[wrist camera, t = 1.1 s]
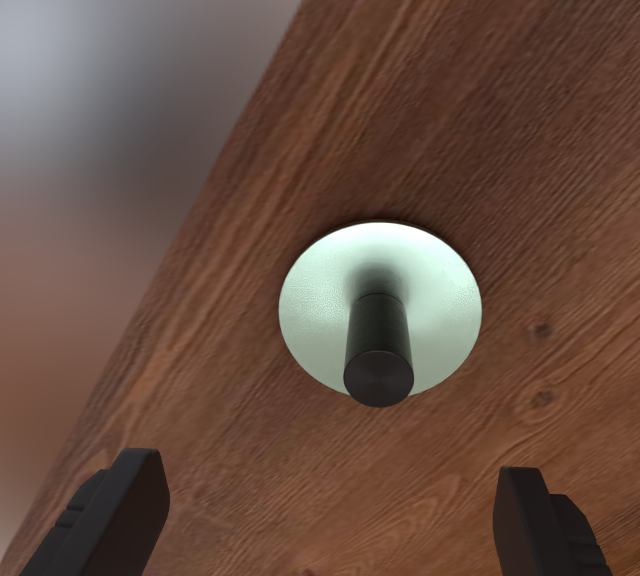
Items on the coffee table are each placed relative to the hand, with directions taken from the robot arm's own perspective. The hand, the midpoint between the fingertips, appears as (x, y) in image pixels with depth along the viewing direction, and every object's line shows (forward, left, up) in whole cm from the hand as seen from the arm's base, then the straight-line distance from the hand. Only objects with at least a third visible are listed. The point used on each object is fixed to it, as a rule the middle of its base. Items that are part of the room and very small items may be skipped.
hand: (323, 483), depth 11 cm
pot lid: (+2, -4, -16) cm, 17 cm away
